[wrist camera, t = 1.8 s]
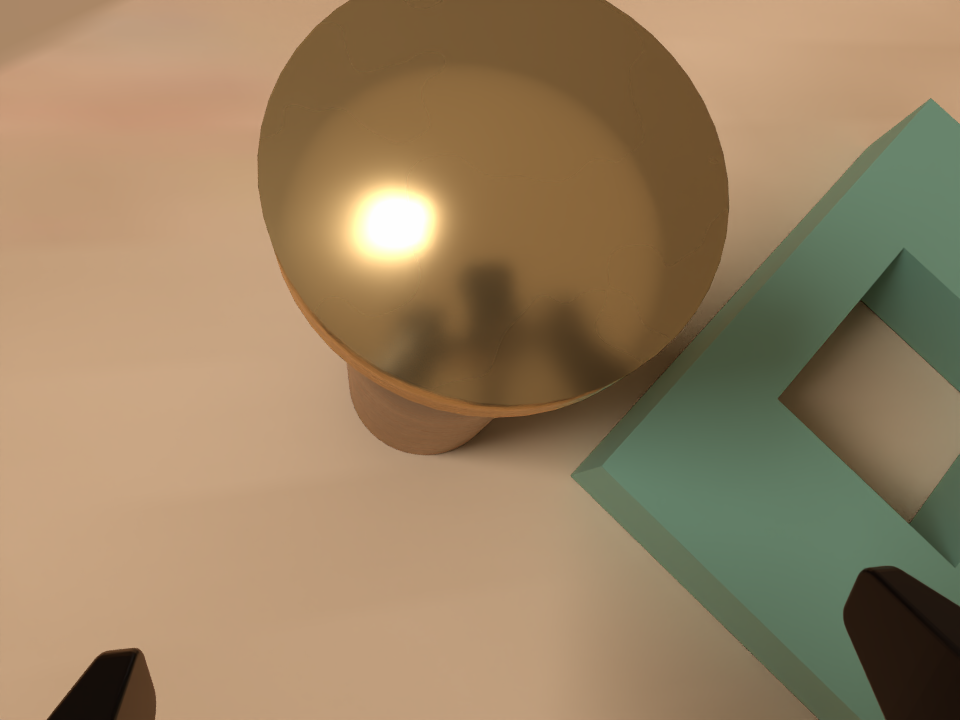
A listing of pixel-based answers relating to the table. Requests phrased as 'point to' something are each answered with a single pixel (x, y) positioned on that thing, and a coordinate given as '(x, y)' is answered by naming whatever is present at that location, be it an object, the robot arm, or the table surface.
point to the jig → (800, 425)
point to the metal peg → (488, 205)
